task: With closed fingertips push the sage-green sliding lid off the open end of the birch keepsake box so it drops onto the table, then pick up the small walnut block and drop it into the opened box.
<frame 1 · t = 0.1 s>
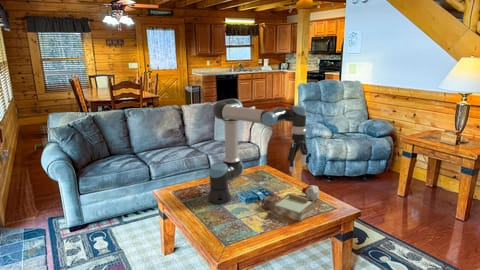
hand: (297, 168, 188), 28 cm above the table, fingers open, 13 cm apart
walnut block: (270, 207, 202), on the table
candle: (311, 198, 214), on the table
keepsake box: (294, 211, 195), on the table
lid: (293, 204, 194), point 5 cm above the table, touching keepsake box
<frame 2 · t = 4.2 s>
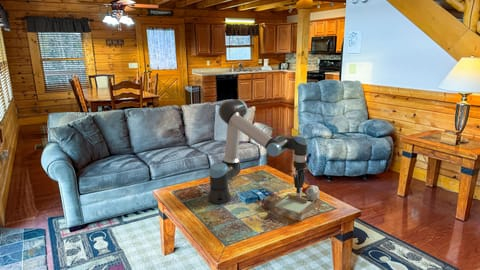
hand: (298, 197, 198), 7 cm above the table, fingers closed
lid: (293, 204, 193), point 5 cm above the table, touching gripper
everything else where it was.
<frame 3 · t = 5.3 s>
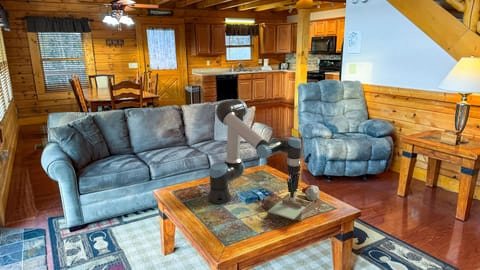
hand: (292, 201, 192), 7 cm above the table, fingers closed
lid: (287, 210, 187), point 5 cm above the table, touching gripper, keepsake box
everything else where it was.
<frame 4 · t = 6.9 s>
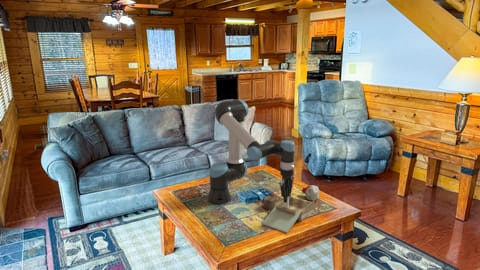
hand: (286, 206, 186), 7 cm above the table, fingers closed
lid: (281, 219, 182), point 2 cm above the table, tilted 17°
everything else where it was.
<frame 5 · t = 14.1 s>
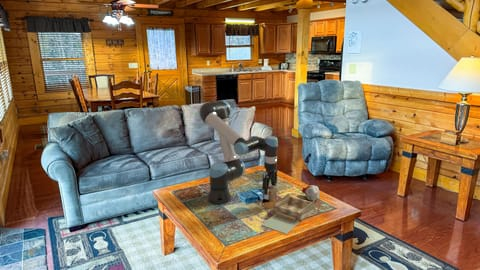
hand: (269, 196, 200), 7 cm above the table, fingers closed on walnut block, 6 cm apart
walnut block: (269, 197, 200), point 6 cm above the table, touching gripper
lid: (280, 224, 182), on the table
everything else where it was.
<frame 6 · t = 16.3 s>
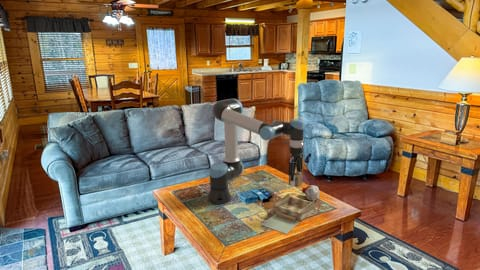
hand: (295, 183, 191), 18 cm above the table, fingers closed on walnut block, 6 cm apart
walnut block: (295, 184, 191), point 18 cm above the table, touching gripper
everything else where it was.
when the fingers open (6 cm above the table, at t = 18.7 s): walnut block drops 4 cm, resting on keepsake box.
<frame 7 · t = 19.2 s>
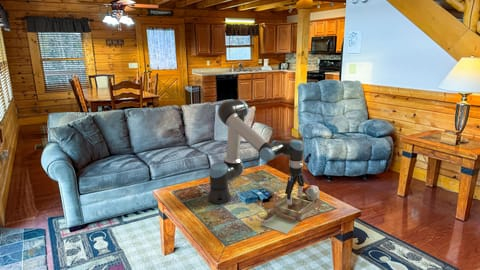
hand: (294, 200, 194), 8 cm above the table, fingers open, 13 cm apart
walnut block: (294, 210, 195), point 1 cm above the table, touching keepsake box
everything else where it was.
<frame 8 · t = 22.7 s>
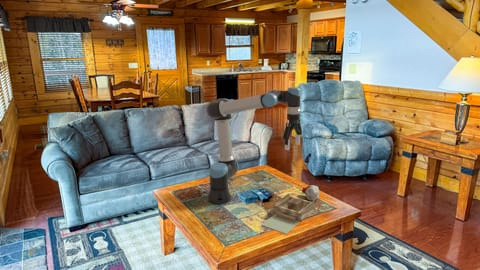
hand: (292, 147, 199), 37 cm above the table, fingers open, 13 cm apart
nothing on the table moved.
at the end: lid inside the target area (1.2 cm from its centre), on the table; walnut block inside the target area on the keepsake box (0.1 cm from its centre), point 1.0 cm above the keepsake box's base; the gripper is holding nothing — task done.
